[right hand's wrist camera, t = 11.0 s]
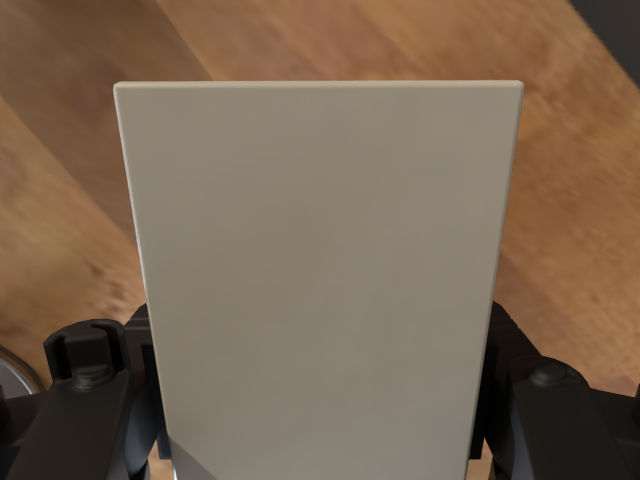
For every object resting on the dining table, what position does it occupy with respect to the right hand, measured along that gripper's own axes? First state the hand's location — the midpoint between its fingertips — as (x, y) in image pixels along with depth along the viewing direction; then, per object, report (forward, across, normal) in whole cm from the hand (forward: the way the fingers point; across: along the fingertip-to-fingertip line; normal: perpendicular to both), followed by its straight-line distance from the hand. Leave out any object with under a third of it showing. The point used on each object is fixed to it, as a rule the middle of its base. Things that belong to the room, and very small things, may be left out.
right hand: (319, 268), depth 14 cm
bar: (+1, 0, -21) cm, 21 cm away
